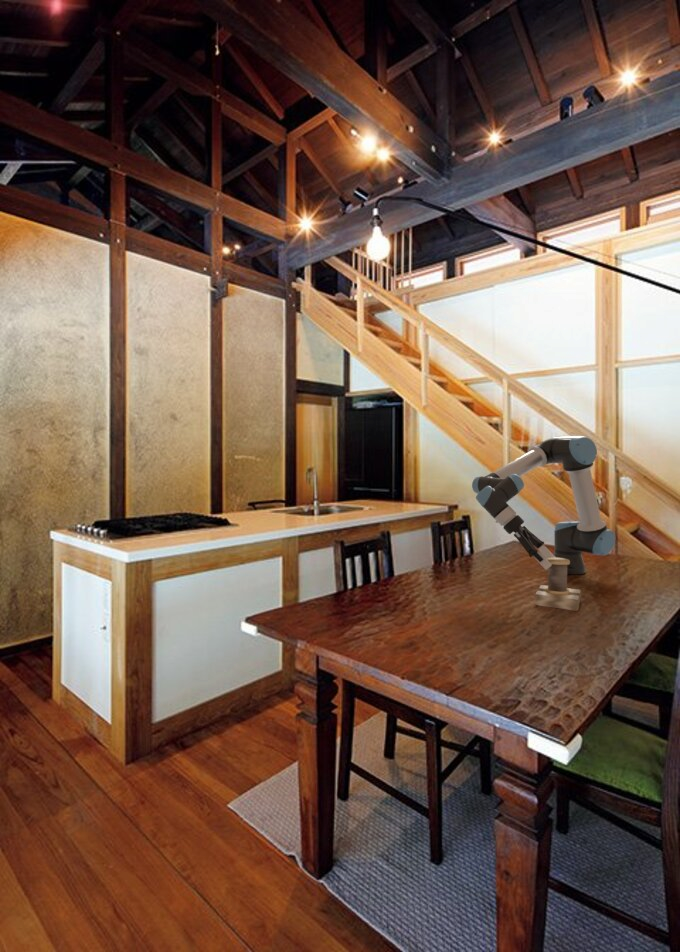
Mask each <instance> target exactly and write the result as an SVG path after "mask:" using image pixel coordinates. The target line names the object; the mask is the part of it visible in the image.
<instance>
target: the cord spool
mask: <svg viewBox="0 0 680 952" xmlns="http://www.w3.org/2000/svg"><path fill="white" fill-rule="evenodd" d="M546 559H547V560H548V561H549V562H550V563H551V564H552V566H551V567H549V568H548V569H547V570H548V572H547V574H548V575H547V576H548V577H547V586H548V587H546V592H548V593H550V594H555V595H567V594H569V589H567V588H568V574H567V565H569V564H570V560H568V559H564V558H555V557H552V558H546Z"/></svg>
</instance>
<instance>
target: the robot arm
mask: <svg viewBox="0 0 680 952" xmlns="http://www.w3.org/2000/svg"><path fill="white" fill-rule="evenodd" d="M597 455H598V450H597V446H596V444H595V442H594V441H593V439H591V438H589V437H587V436H581V435H572V436H554V437H551V438H548V439H546V440H543V441H541V442H540V443H537V444H535V445H533V446H531V447H530V448H529V450H528V452H525V454H524V453H523V454H522V455H520V456H518V457H517V458H514V460H512V461H510V462H509V463H507V464H505V465H503V466H501V467H499V468H498V469H496V470H494V471H493V472H490V473H489V474H487V475H484V476H482V475H481V476H476V477H475V478H474V479H473V480H472V484H471V485H472V486H471V487H472V490H473V492H474V493H475V494H476V496H475V499H476V501H477V502H478V503H479V505H481V507H482V508H483V509H485V511H486V512H487V513H489V515H490V516H491V517H492V518H493V519H494V520H495V523H496V524H497V523H498V524H499V525H500V526H501V527H502V526H503V530H504V531H506V532H507V534H508V535H511V534H512V533H513V532H514V534H513V537H515V538H516V540H517V541H518V543H520V545H521V546H522V547H523V549H524V550H525V551H526V553H527V554H528V556H529V557H530V558H532V557H533V558H534V559H535V560H536V561H537V563H539V564H540V566H541V567H542V568H543V569H544V570H545V571H547V570H548V568H549V567H551V566H552V564H551V563H550V562H549V561H548V560H547V558H552V557H555V558H564V559H568V560H570V564H569V565H567V575H583V574H585V573H586V568H587V567H586V565H585V562H584V558H583V555H582V554H583V553H587V554H591V555H594V556H607V555H608V554H610V553H611V551H612V550H613V549H614V548H615V547H614V546H615V543H616V535H615V532H614V531H613V530H611V529H608V527H607V526H608V525H607V522H606V521H604V520H603V519H602V518H601V514H600V507H599V504H598V500H597V495H596V491H595V490H596V489H595V486H594V481H593V477H592V471H591V468H592V467H593V466H594V462H595V460H596V459H597ZM550 464H561V465H562V468H563V472H566V473H568V478H569V482H570V485H571V490H572V495H573V499H574V503H575V507H576V512H577V517H578V521H574V520H573V521H559V522H556V523H555V526H554V532H553V533H554V547H553V548H554V549H553V550H554V553H552V552H551V550H549V549H548V548H547V546H545V541H543V540H541V539H540V538H539V537H537V536H536V535H535V534H534V533H533V532H531V531H530V530H529V529H528V528H527V527H526V526H525V525H523V524H524V523H525V520H524V519H523V518H522V517H521V516H520V515H518V514H517V512H516V511H515V509H513V508H512V507H511V506H510V505H509V503H508V502H509V501H511V500H512V499H513V498H514V497H515V496H516V495H518V494H520V492H521V491H522V490H523V489H524V487H525V483H524V481H523V479H522V478H521V477H522V476H524V475H526V474H527V473H530V472H531V471H532V470H535V469H536V468H539V467H540V468H542V467H544V466H546V465H550ZM522 525H523V526H522ZM582 552H583V553H582Z"/></svg>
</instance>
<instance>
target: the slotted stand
mask: <svg viewBox="0 0 680 952" xmlns="http://www.w3.org/2000/svg"><path fill="white" fill-rule="evenodd" d="M546 587H548V585H545V584H540V586H539V587H538V590H537V591H536V593H535V602H534V604H535V606H540V607H547V608H556V609H560V610H568V611H576V612H578V611H579V607H580V606H579V605H580V604H581V603H580V602H581V593H582V591H581V589H578V588H577V589H576V588H569V587H567V589H569V594H567V595H555V594H550V593H548V592H546Z"/></svg>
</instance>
